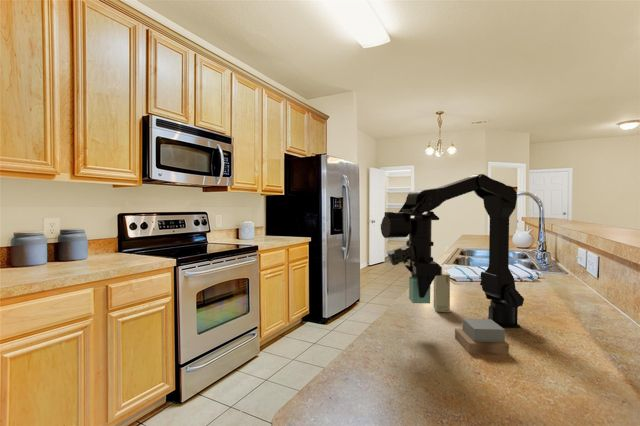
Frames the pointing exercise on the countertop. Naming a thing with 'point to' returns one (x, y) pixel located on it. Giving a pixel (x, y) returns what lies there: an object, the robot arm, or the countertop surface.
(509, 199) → the robot arm
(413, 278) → the pillar block
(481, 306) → the countertop surface
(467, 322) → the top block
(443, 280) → the skincare box
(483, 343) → the bottom block
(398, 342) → the countertop surface
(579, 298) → the countertop surface
